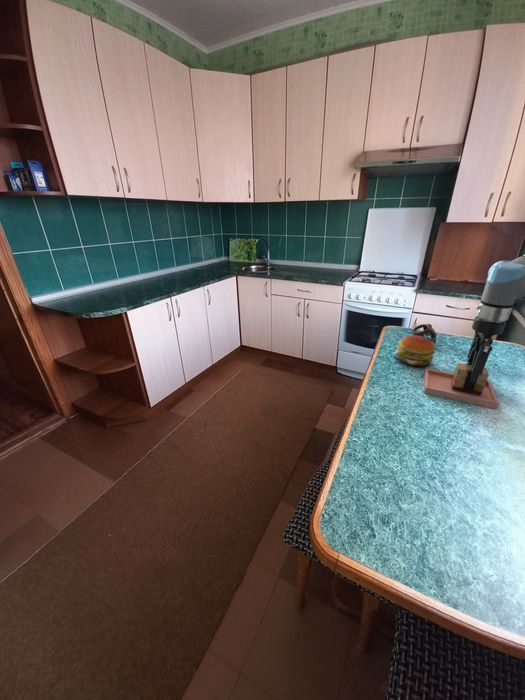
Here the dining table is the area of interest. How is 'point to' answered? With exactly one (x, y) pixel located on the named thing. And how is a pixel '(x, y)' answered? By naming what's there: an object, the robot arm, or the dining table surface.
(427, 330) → the pottery mug
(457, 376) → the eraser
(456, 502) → the dining table surface
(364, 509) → the dining table surface
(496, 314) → the robot arm
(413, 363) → the burger
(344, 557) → the dining table surface
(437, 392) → the tray
